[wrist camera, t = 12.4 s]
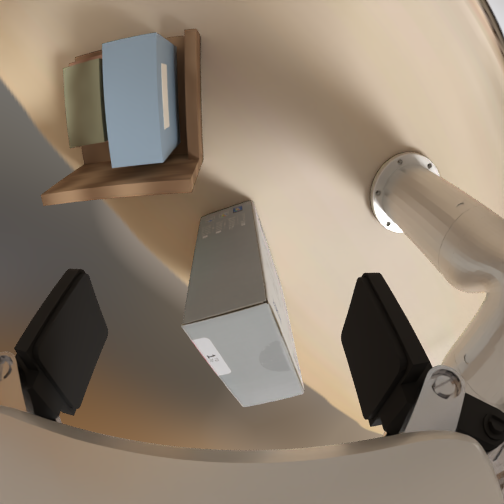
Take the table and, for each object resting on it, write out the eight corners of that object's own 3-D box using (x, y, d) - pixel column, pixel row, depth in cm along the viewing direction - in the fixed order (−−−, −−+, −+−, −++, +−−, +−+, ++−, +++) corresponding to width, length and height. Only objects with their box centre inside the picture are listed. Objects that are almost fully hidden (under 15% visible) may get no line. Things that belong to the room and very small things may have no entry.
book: (177, 46, 27) (156, 32, 18) (181, 142, 33) (163, 162, 25) (135, 53, 27) (101, 43, 18) (140, 146, 33) (111, 168, 24)
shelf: (200, 35, 27) (185, 12, 17) (203, 159, 35) (191, 192, 25) (78, 57, 26) (24, 55, 16) (88, 170, 35) (43, 205, 24)
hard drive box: (198, 216, 40) (178, 323, 23) (252, 198, 39) (271, 297, 22) (237, 299, 48) (242, 409, 31) (283, 286, 47) (308, 394, 30)
